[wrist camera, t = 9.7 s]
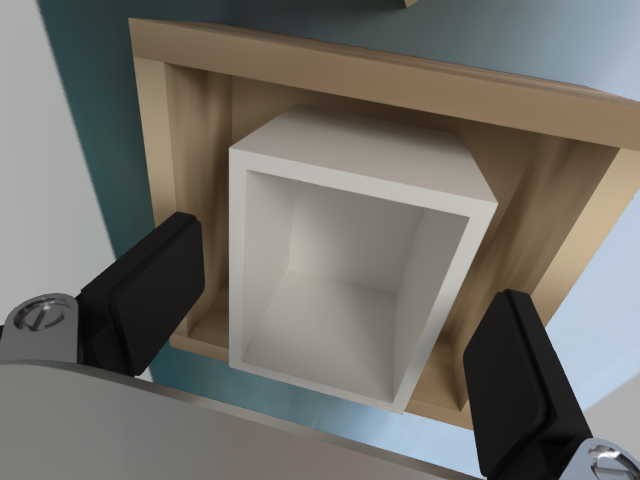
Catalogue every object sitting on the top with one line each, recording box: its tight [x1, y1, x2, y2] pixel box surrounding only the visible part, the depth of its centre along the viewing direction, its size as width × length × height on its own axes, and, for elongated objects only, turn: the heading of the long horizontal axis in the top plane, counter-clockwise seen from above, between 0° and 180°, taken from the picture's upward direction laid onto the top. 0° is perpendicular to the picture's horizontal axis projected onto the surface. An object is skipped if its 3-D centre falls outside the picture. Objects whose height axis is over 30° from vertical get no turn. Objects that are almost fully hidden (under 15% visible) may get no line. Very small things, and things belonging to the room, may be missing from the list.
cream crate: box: [229, 104, 498, 415], centre depth 14 cm, size 9×7×7 cm
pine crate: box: [128, 18, 640, 431], centre depth 16 cm, size 14×15×6 cm
